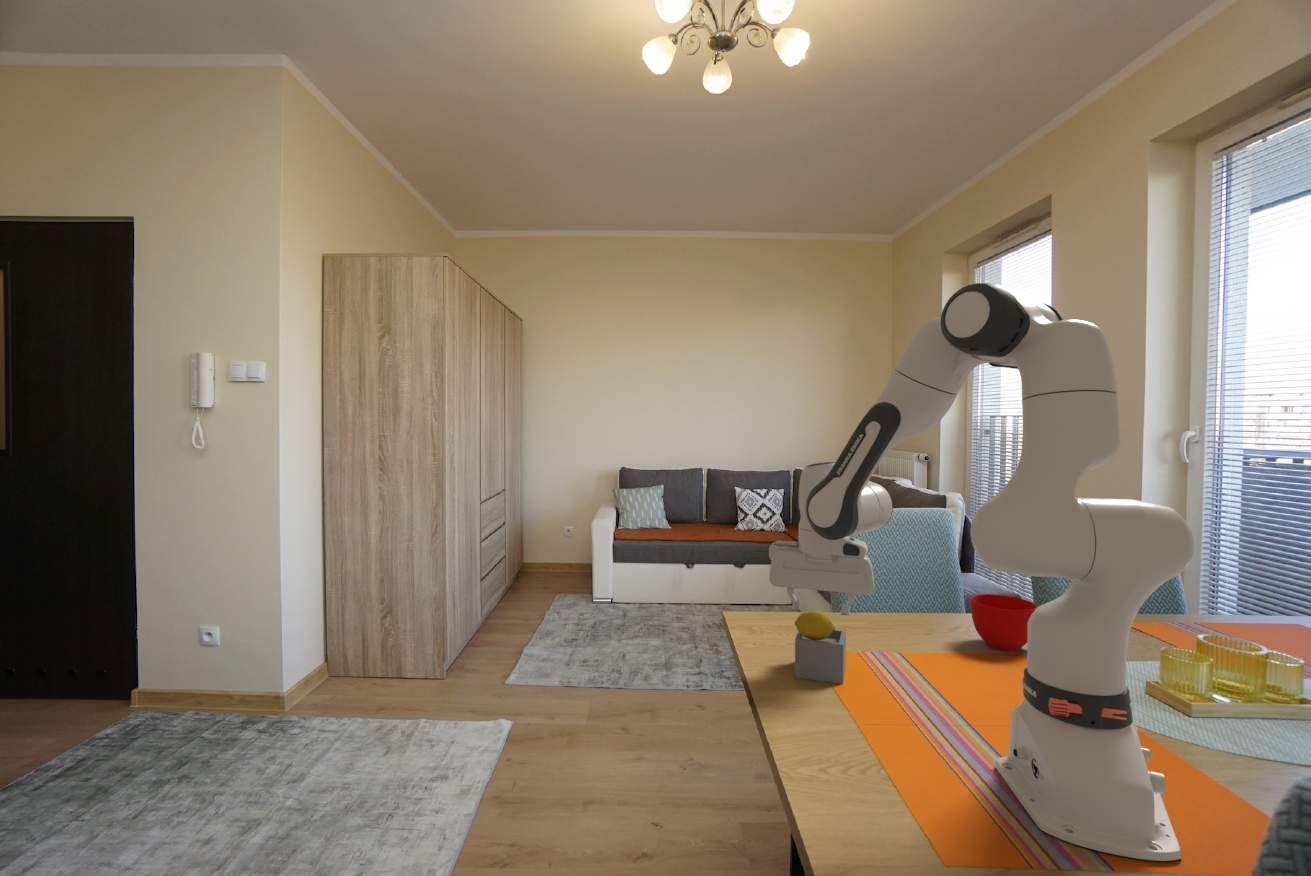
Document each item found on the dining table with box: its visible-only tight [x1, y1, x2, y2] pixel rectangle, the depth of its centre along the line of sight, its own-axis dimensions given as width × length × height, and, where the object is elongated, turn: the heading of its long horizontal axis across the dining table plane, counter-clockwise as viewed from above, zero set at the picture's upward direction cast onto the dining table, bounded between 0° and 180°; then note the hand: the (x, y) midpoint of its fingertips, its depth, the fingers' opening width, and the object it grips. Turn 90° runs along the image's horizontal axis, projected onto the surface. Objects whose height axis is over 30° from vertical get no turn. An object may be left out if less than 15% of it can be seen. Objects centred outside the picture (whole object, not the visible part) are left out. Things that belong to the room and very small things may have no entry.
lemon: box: [794, 610, 836, 640], centre depth 119 cm, size 6×6×8 cm
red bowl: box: [970, 594, 1038, 652], centre depth 134 cm, size 13×17×10 cm
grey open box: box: [794, 628, 847, 685], centre depth 120 cm, size 9×9×8 cm
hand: (820, 612), depth 120 cm, fingers open, 8 cm apart
